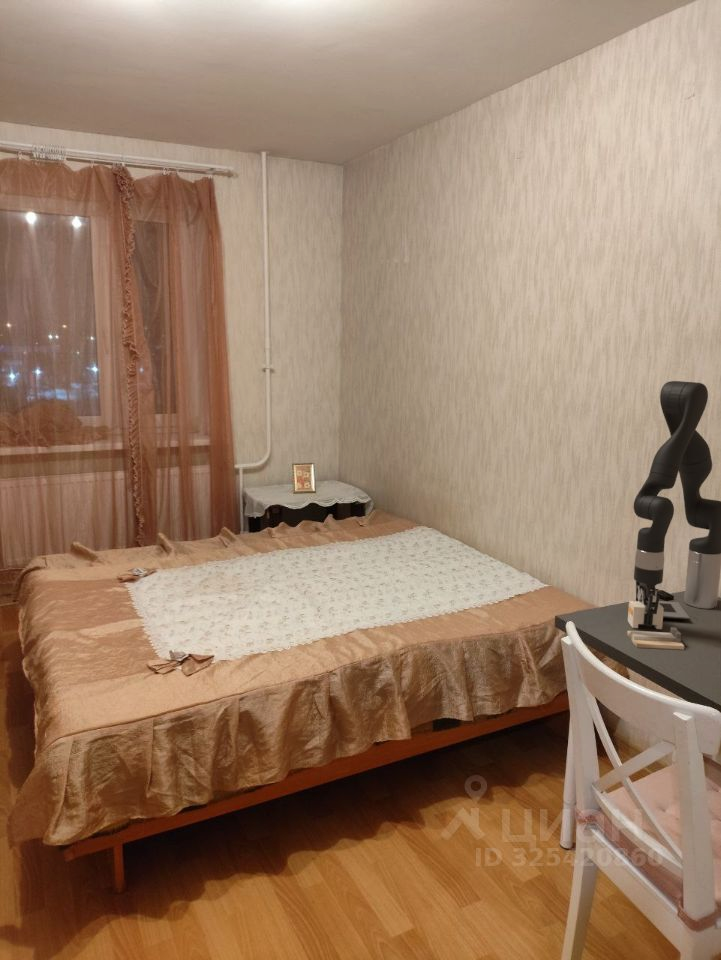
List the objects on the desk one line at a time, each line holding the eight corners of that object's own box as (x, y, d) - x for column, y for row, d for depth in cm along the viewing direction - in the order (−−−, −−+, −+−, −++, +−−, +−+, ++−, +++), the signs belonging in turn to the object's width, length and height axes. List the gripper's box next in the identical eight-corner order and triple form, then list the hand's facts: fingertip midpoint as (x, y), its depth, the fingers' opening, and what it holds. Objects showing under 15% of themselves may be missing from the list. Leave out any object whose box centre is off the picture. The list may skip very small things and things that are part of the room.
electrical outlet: (688, 624, 196) (689, 616, 195) (650, 621, 198) (650, 613, 198) (677, 608, 208) (678, 601, 208) (641, 606, 211) (641, 599, 210)
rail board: (627, 634, 188) (628, 622, 187) (672, 636, 186) (673, 624, 186) (636, 647, 179) (637, 635, 178) (684, 649, 178) (685, 637, 177)
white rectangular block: (632, 627, 191) (633, 607, 190) (627, 621, 196) (628, 600, 195) (662, 629, 190) (663, 608, 189) (656, 622, 195) (657, 601, 194)
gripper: (671, 573, 183) (666, 632, 186) (654, 558, 197) (650, 613, 200) (642, 572, 184) (638, 631, 187) (628, 557, 198) (624, 612, 201)
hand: (644, 621), depth 193 cm, fingers closed on white rectangular block, 5 cm apart
